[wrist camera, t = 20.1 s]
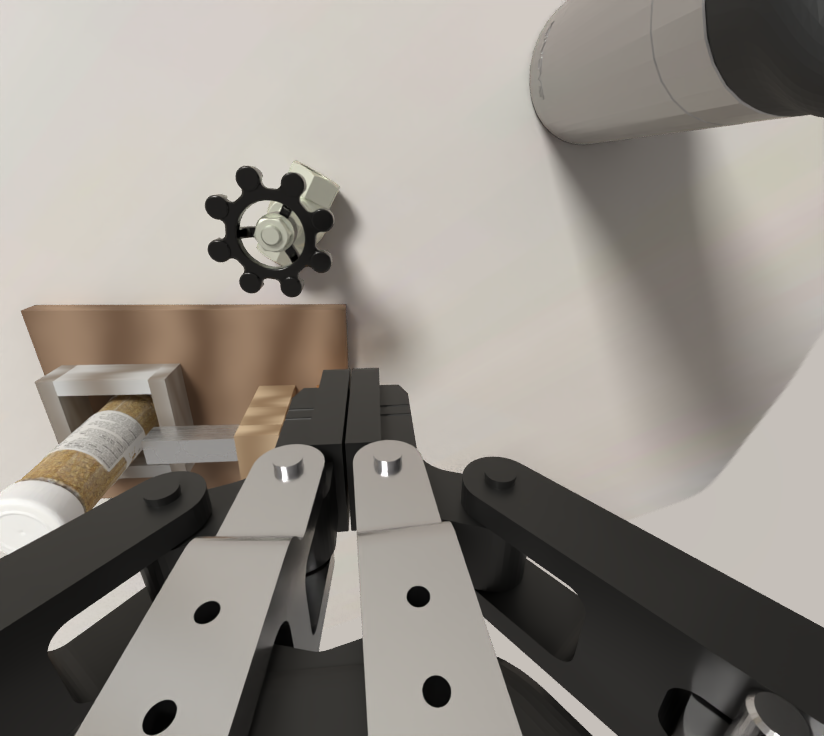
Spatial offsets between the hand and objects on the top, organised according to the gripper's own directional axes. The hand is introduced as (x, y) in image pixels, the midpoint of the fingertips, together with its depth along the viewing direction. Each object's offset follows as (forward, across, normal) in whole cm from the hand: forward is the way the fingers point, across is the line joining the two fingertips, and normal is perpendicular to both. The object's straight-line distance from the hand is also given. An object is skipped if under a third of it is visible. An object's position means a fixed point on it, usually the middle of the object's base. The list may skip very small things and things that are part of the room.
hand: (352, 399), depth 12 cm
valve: (+25, +5, -3) cm, 25 cm away
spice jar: (+23, +20, +13) cm, 33 cm away
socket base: (+24, +14, +13) cm, 31 cm away
